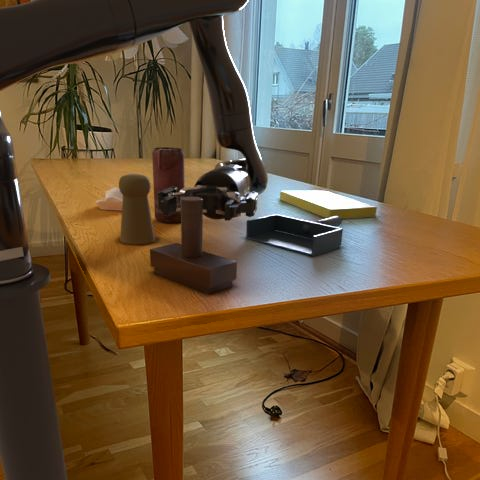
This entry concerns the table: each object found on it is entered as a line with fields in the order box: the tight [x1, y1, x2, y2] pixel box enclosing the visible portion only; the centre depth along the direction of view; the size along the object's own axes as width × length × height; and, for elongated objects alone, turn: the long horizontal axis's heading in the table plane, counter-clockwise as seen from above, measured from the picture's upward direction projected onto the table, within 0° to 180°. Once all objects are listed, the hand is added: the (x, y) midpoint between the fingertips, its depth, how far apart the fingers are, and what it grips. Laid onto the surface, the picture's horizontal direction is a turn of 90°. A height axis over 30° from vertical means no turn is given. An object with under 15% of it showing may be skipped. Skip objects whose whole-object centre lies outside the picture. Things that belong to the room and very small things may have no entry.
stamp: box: [149, 197, 238, 295], centre depth 63 cm, size 5×12×11 cm, turn 47°
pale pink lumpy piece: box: [95, 187, 123, 212], centre depth 106 cm, size 10×4×10 cm
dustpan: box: [245, 213, 344, 257], centre depth 88 cm, size 19×15×3 cm
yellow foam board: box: [279, 190, 378, 220], centre depth 115 cm, size 12×2×24 cm
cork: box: [118, 173, 156, 246], centre depth 81 cm, size 6×6×11 cm
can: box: [151, 146, 186, 224], centre depth 94 cm, size 6×6×14 cm
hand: (196, 210), depth 64 cm, fingers open, 8 cm apart
